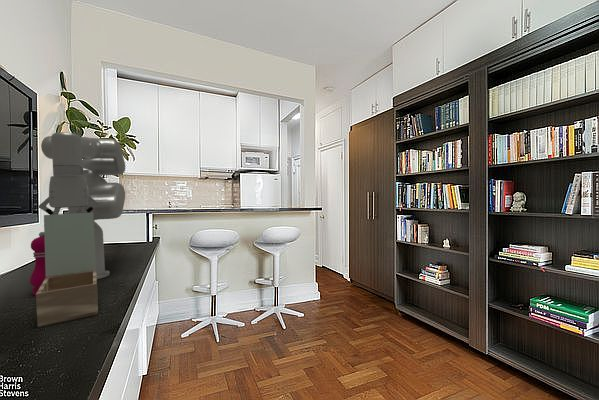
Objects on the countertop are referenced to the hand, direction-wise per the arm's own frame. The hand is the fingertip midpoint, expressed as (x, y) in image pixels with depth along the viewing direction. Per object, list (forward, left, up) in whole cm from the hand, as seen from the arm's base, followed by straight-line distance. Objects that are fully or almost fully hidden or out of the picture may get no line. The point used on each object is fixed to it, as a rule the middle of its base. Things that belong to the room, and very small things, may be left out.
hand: (71, 228), depth 96 cm
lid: (+7, 0, -4) cm, 8 cm away
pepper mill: (-8, -8, -21) cm, 24 cm away
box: (+17, 0, -21) cm, 27 cm away
